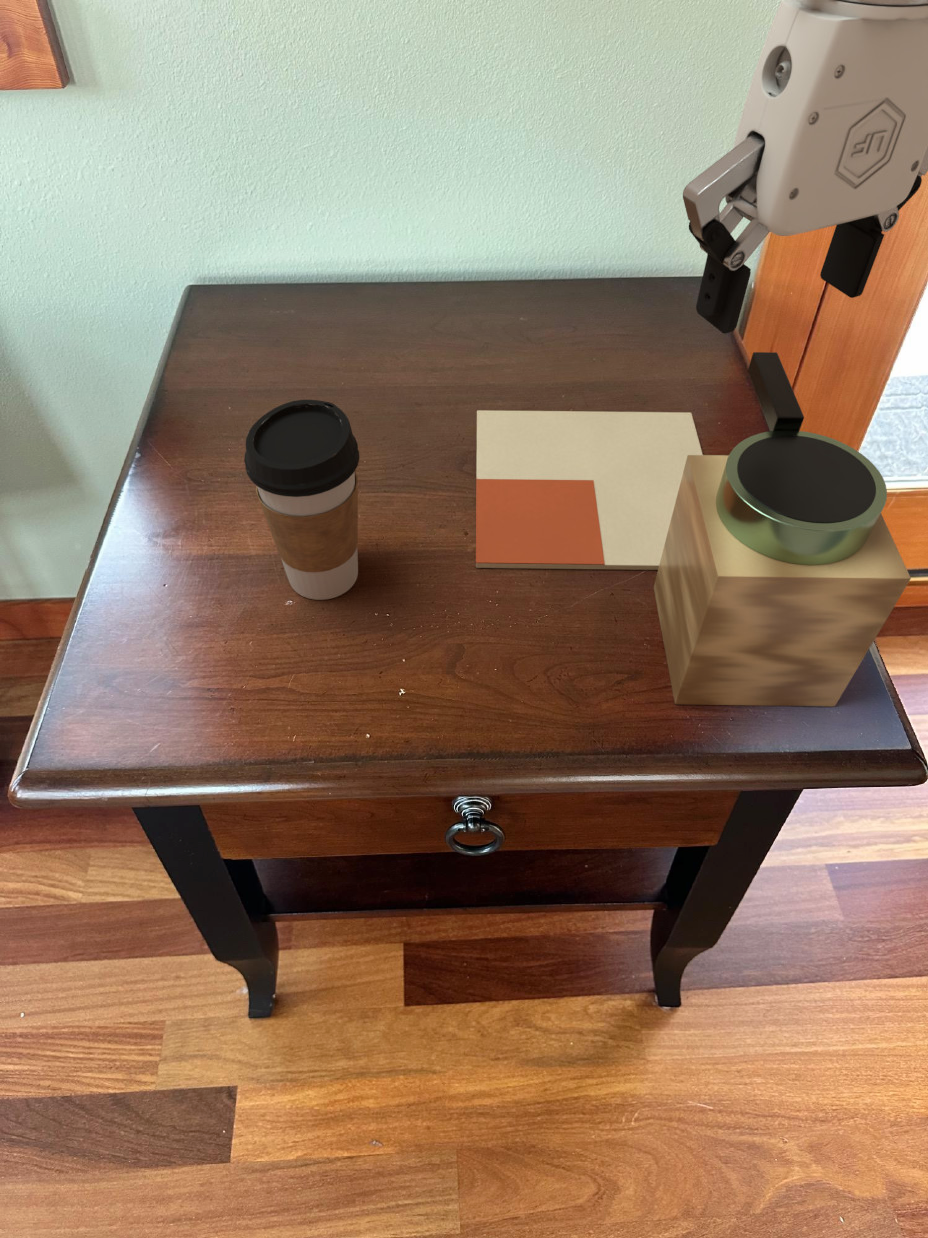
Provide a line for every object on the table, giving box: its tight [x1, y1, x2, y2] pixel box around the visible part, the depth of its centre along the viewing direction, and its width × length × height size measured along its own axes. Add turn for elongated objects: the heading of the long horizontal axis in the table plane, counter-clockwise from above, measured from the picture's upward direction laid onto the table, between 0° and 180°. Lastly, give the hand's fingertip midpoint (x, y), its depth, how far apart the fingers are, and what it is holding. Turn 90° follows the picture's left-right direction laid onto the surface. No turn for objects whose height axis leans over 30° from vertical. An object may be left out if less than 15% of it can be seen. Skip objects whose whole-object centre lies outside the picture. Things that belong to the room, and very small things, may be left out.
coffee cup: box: [243, 399, 360, 601], centre depth 66 cm, size 8×8×15 cm
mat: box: [475, 409, 704, 571], centre depth 79 cm, size 22×22×1 cm
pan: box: [716, 351, 888, 565], centre depth 57 cm, size 18×10×4 cm, turn 179°
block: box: [653, 454, 912, 707], centre depth 61 cm, size 12×12×14 cm
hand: (778, 304), depth 52 cm, fingers open, 9 cm apart
